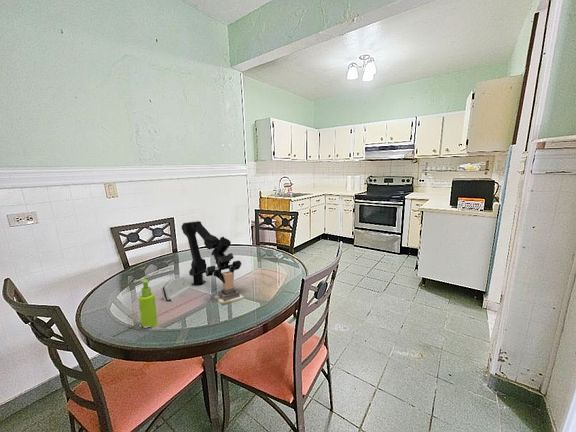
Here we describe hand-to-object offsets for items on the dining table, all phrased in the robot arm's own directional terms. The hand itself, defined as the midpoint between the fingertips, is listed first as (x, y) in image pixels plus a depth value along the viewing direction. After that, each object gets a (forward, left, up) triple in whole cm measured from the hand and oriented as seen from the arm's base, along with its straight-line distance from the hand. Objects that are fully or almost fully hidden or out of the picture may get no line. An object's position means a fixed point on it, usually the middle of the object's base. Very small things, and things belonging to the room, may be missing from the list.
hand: (228, 281), depth 131 cm
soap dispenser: (+25, -29, -10) cm, 39 cm away
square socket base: (-1, -1, -9) cm, 9 cm away
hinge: (-6, -32, -10) cm, 34 cm away
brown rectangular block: (-1, -1, -7) cm, 7 cm away
